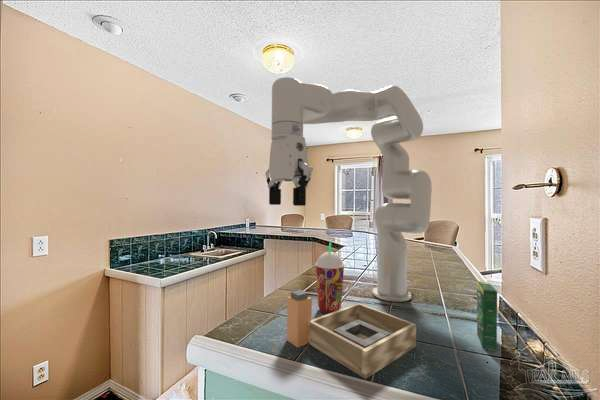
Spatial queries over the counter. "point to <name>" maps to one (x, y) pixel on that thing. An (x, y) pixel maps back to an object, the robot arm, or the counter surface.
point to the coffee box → (487, 315)
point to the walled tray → (362, 338)
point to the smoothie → (329, 281)
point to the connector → (298, 317)
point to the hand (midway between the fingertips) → (286, 205)
